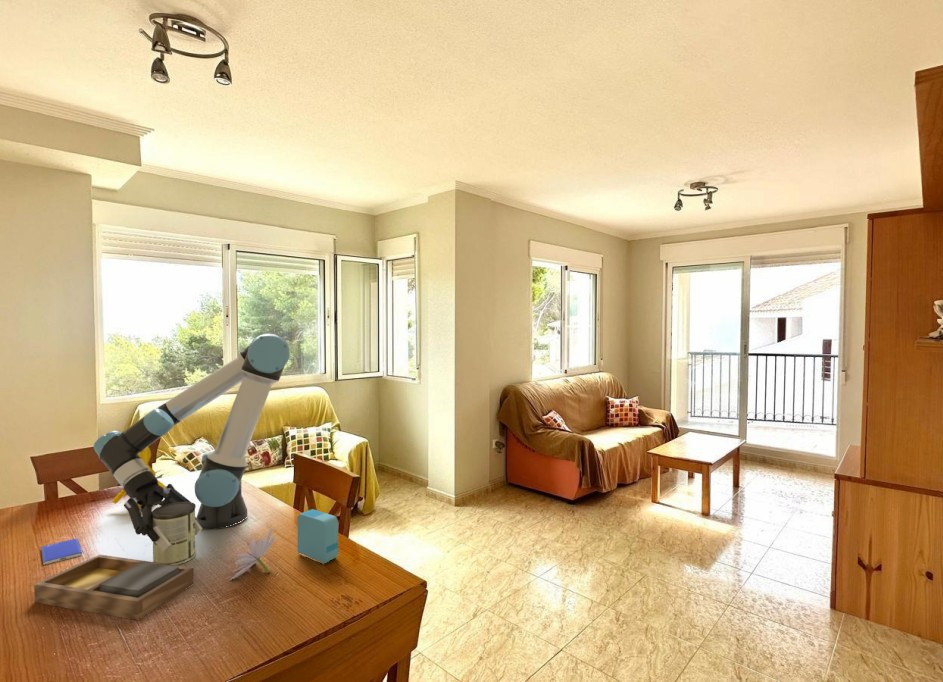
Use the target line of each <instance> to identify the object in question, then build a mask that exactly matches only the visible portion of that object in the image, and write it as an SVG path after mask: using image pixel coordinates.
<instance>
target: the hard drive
mask: <svg viewBox="0 0 943 682" xmlns="http://www.w3.org/2000/svg"><path fill="white" fill-rule="evenodd" d="M82 551H83V550H82V548H81V544H80V541H79V538H72V539H68V540H64V541H59V542H55V543H51V544H46V545H43V546H41V557H42V563H43V566H45V564H46V565H49V564H54V563H57V561H58V562H61V561H64V560H65V559H66V560H68V559H69V560H70V559H73V558H77V557H82V556H83V552H82ZM53 562H54V563H53Z"/></svg>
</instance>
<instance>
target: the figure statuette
mask: <svg viewBox="0 0 943 682" xmlns="http://www.w3.org/2000/svg"><path fill="white" fill-rule="evenodd" d="M138 455H139V457H140V458H141V459H142V460H143V462H144V463H145V464H146V465H147V467H148V468H149V471H151V472H152V473H153V474H154V476H155V477H156V472H155V470H154V469H153V467H151V466H150V465H149V462H150V460H151V457H152V452H151V449H150V447H149V446H148V447H147V448H145V449H144V450H143V451H142V452H140V453H139V454H138ZM158 485H159V486H161V487H166V486H167V485H165V484H164V483H163V482H161V481H160V480H158ZM122 488H123V489H121V490H120V491H119V492H118V493H117V495H116V496H115V497H114V498H113V499H112V501H111V503H113V504H117V503H118V502H120V500H121V499H122V498H123V497H124V496H125V495H127V493H126V492H125V490H124V487H122ZM132 499H133V498H132ZM137 505H138V507H139V509H141V505H139V504H137Z"/></svg>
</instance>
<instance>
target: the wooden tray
mask: <svg viewBox="0 0 943 682" xmlns="http://www.w3.org/2000/svg"><path fill="white" fill-rule="evenodd" d="M194 571H195V570H194V567H190V566H183V565H170V564H163V563H156V562H153V561H147V560H141V559H134V558H128V557H120V556H112V555H106V554H105V555H104V554H97V555H95V556H93V557H91V558H89V559H87V560H85V561H82V562H80V563H78V564H75V565H73V566H72V567H69V568H67V569H65V570H62V571H61V572H59V573H56V574H54V575H52V576H50V577H47V578H45V579H43V580H41V581H39V582H37V583H35V584H33V585H34V586H33V587H34V588H33V589H34V603H37V604H42V605H48V606H54V607H60V608H63V609H64V608H65V609H72V610H76V611H81V610H82V611H81V612H86V613H87V612H89V613H92V612H94V613H93V614H98V613H100V614H99V615H104V614H106V615H105V616H109V615H110V617H116V618H121V617H122V619H126V618H130V619H129V620H132V619H136V620H135V621H137V620H138V619H139V620H141V619H142V618H144V617H145V616H144V615H146V614H147V613H149V612H150V613H151V611H152V610H153V611H155V610H157V609H158V608H160V607H161V606H163V605H164V604H166V603H167V602H169V601H171V600H172V599H173V598H174V596H175V597H176V595H177V596H178V595H180V594H182V593H183V592H185V591H186V590H187V589H189V588H190V587H189V586H191V585H192V584H194V582H195V581H194V580H195V579H194V576H195V575H194ZM194 585H195V584H194ZM192 586H193V585H192ZM192 586H191V587H192ZM188 587H189V588H188ZM186 588H187V589H186ZM185 589H186V590H185ZM182 591H183V592H182ZM179 593H180V594H179ZM171 598H172V599H171ZM168 600H169V601H168ZM166 601H167V602H166ZM165 602H166V603H165ZM163 603H164V604H163ZM162 604H163V605H162ZM160 605H161V606H160ZM159 606H160V607H159ZM157 607H158V608H157ZM154 609H155V610H154ZM153 611H152V612H153ZM150 613H149V614H150ZM147 615H148V614H147ZM147 615H146V616H147ZM143 616H144V617H143ZM141 617H142V618H141ZM140 618H141V619H140ZM139 620H138V621H139Z"/></svg>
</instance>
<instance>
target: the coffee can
mask: <svg viewBox="0 0 943 682" xmlns="http://www.w3.org/2000/svg"><path fill="white" fill-rule="evenodd" d="M196 506H197V505H196V504H195V503H194V502H192V501H190V502H176V503H170V504H166V505H163V506H160V505H159V506H158V507H155V509H152V517H153V528H154V527H155V526H157V527H158V528H159V529H160V531H161V532H162V533H163V534H164V536H165V537H166V538H167V540H168V541H169V542H170V544H171V546H170V547H169V548H168V549H167V550H166V551H165V552H162V550H161V549H160V548H159V546H158V545H157V544H156V542H152V556H153V557H152V560H153V561H152V562H156V563H163V564H170V565H177V566H180V565H182V563H183V564H185V563H187V561H188V562H190V561H191V560H192V558H193V559H194V558H195V557H194V556H196V555H197V551H196V535H195V517H196ZM179 564H180V565H179Z"/></svg>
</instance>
